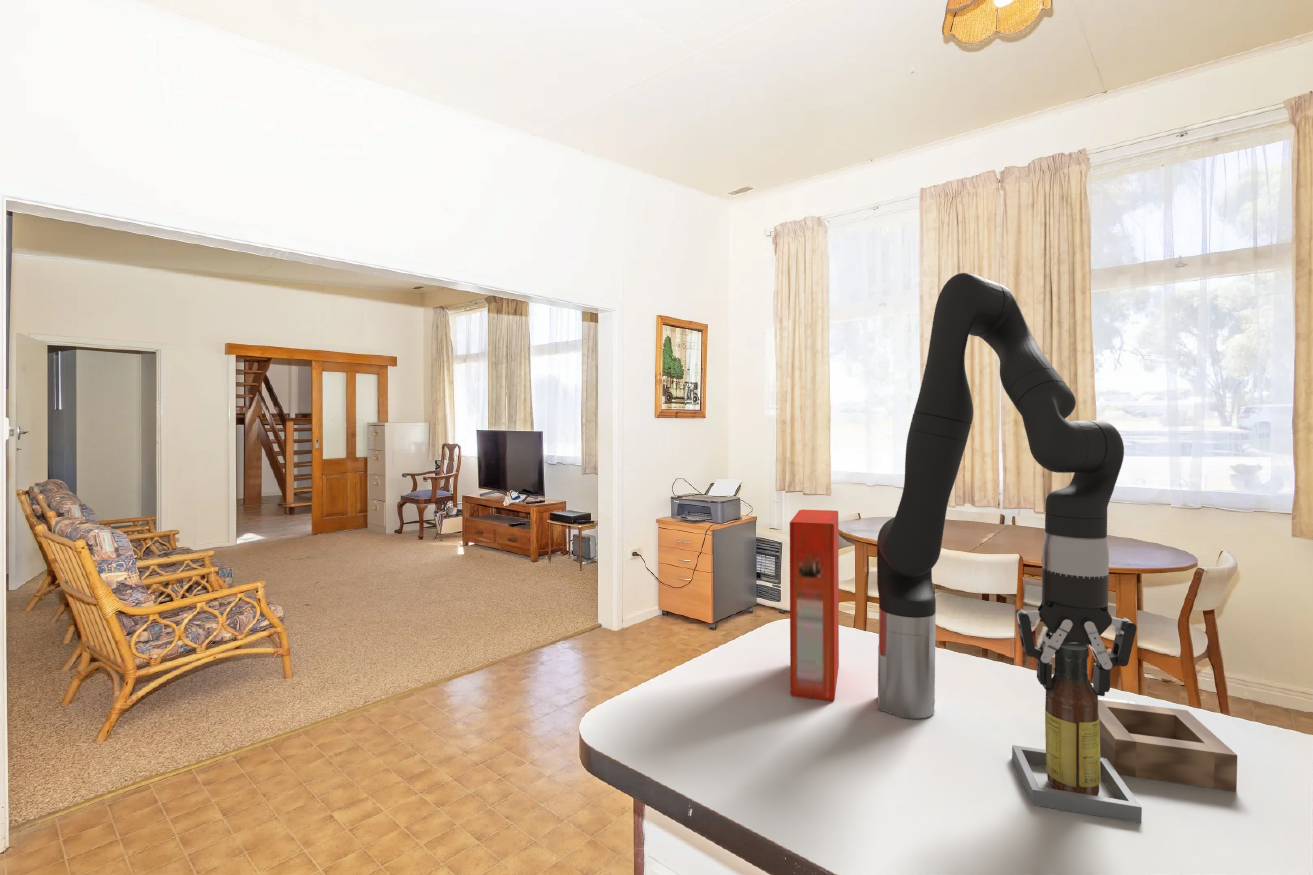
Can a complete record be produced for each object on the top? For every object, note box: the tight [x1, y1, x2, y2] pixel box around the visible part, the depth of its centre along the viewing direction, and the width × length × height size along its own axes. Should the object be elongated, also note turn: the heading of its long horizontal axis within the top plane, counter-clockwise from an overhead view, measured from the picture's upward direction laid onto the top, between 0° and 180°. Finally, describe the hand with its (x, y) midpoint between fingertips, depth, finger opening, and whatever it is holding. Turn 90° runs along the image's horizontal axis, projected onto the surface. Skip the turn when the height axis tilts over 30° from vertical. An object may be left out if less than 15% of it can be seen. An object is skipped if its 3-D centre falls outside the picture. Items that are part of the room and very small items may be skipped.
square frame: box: [1011, 744, 1143, 824], centre depth 86 cm, size 12×12×2 cm
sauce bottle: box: [1044, 642, 1102, 796], centre depth 86 cm, size 7×6×20 cm
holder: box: [1098, 700, 1238, 793], centre depth 94 cm, size 14×14×5 cm
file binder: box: [789, 509, 840, 702], centre depth 122 cm, size 8×17×32 cm, turn 161°
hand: (1072, 689), depth 86 cm, fingers closed on sauce bottle, 5 cm apart
